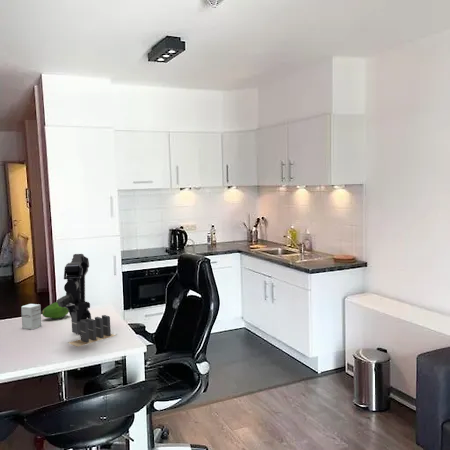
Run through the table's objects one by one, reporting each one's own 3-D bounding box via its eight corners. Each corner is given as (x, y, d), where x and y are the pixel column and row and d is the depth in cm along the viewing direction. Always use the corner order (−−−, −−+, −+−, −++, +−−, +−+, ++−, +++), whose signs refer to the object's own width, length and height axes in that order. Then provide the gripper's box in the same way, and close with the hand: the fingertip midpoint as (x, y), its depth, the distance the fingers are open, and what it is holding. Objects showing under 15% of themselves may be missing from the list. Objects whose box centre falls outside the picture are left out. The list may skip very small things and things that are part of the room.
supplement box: (21, 328, 258) (20, 306, 257) (31, 325, 265) (30, 303, 264) (32, 329, 255) (30, 307, 254) (42, 326, 262) (40, 304, 261)
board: (77, 347, 224) (77, 346, 224) (67, 344, 230) (67, 342, 230) (115, 336, 240) (115, 335, 240) (106, 333, 246) (106, 332, 246)
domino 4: (100, 338, 236) (100, 319, 235) (95, 336, 239) (94, 317, 238) (103, 337, 237) (102, 318, 236) (98, 335, 240) (97, 316, 239)
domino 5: (108, 336, 239) (107, 317, 238) (102, 334, 242) (101, 315, 241) (110, 335, 240) (109, 316, 239) (105, 333, 243) (104, 314, 242)
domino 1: (77, 333, 226) (76, 313, 225) (72, 332, 229) (71, 312, 229) (80, 333, 227) (79, 313, 226) (75, 331, 230) (74, 311, 230)
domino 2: (86, 342, 229) (85, 322, 229) (80, 340, 233) (79, 321, 232) (89, 341, 231) (88, 322, 230) (83, 339, 234) (82, 320, 233)
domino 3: (93, 340, 232) (92, 320, 232) (88, 338, 236) (87, 319, 235) (96, 339, 234) (95, 320, 233) (91, 337, 237) (90, 318, 236)
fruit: (44, 322, 269) (43, 305, 268) (41, 318, 277) (40, 302, 276) (70, 318, 276) (69, 302, 276) (67, 314, 285) (66, 298, 284)
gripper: (49, 289, 227) (51, 320, 228) (68, 294, 214) (70, 327, 216) (70, 285, 235) (71, 316, 236) (89, 290, 222) (91, 322, 224)
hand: (75, 320), depth 228 cm, fingers closed on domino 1, 5 cm apart
